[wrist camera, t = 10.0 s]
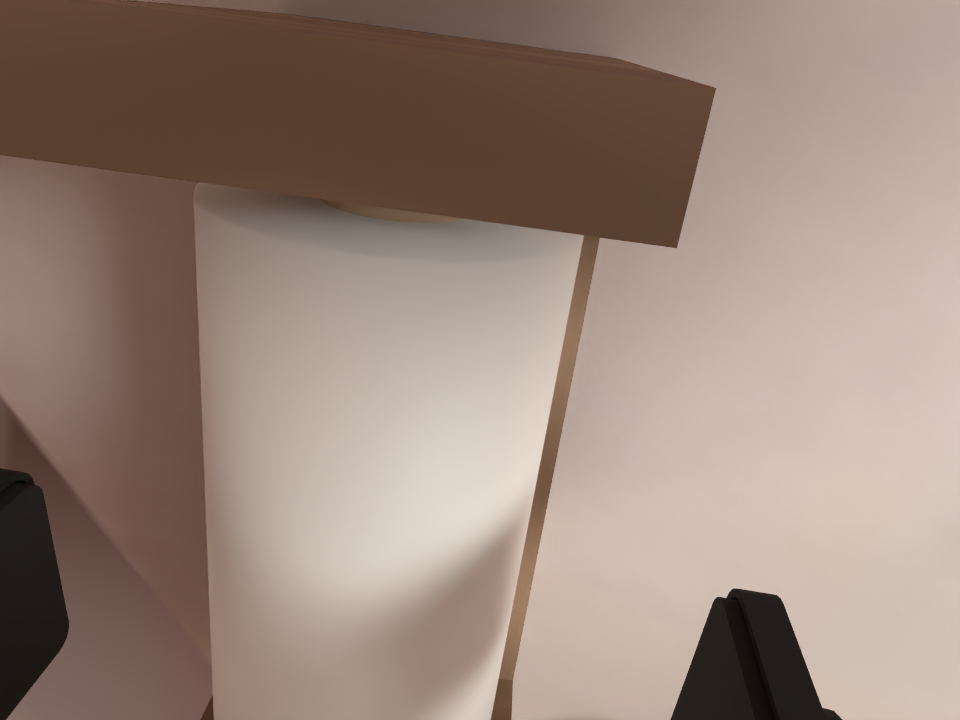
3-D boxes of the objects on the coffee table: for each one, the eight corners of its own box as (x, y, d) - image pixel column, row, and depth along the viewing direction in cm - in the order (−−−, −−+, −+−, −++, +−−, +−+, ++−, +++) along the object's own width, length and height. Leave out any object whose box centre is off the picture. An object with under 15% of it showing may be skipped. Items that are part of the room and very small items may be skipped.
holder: (279, 13, 15) (-42, -14, 7) (615, 57, 15) (715, 87, 6) (278, 600, 21) (119, 948, 13) (508, 633, 21) (491, 1005, 13)
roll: (285, 136, 14) (99, 192, 9) (585, 182, 14) (591, 271, 8) (278, 584, 19) (157, 802, 13) (502, 627, 18) (470, 870, 13)
